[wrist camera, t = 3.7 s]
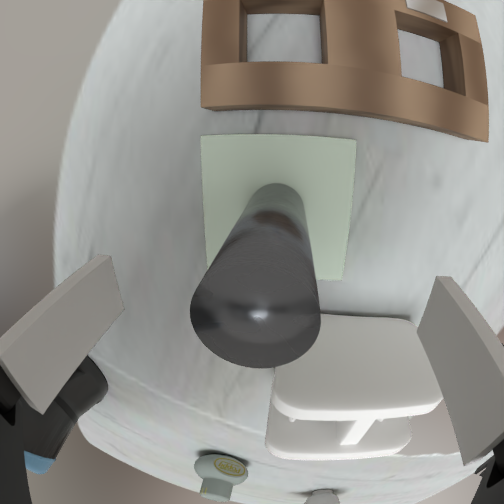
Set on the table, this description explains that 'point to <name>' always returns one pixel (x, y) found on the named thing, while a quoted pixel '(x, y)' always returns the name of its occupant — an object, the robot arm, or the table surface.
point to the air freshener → (219, 475)
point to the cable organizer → (351, 391)
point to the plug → (261, 285)
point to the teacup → (322, 497)
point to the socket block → (351, 64)
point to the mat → (285, 172)
